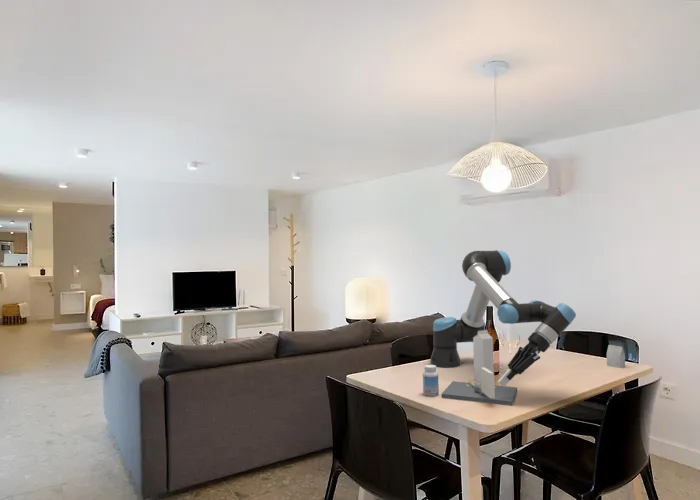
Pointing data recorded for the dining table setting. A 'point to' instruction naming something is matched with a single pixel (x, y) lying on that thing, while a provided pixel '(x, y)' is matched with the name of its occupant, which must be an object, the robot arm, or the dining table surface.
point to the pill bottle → (430, 381)
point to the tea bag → (615, 356)
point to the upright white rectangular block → (485, 383)
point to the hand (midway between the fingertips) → (500, 384)
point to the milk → (482, 353)
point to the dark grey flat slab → (467, 393)
